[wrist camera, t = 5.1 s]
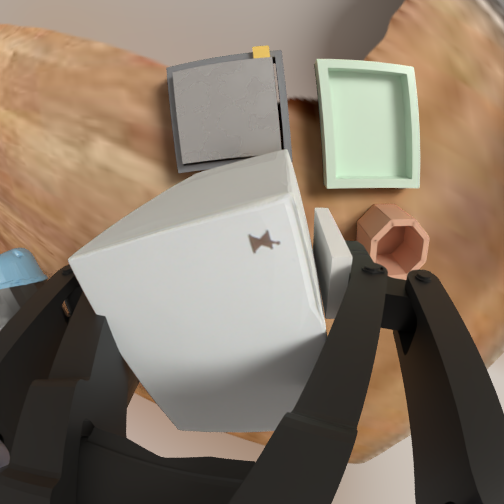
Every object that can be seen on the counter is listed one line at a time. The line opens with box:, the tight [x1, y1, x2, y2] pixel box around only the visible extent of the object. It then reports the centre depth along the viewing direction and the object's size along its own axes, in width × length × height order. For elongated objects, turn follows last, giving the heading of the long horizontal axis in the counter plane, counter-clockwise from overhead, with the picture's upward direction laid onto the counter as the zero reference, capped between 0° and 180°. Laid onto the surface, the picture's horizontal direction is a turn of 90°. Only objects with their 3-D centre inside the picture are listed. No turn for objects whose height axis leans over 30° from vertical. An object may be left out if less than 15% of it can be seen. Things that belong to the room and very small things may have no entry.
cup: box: [356, 204, 429, 280], centre depth 30 cm, size 7×7×6 cm
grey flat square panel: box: [173, 57, 281, 164], centre depth 25 cm, size 10×10×1 cm
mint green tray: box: [314, 59, 420, 189], centre depth 26 cm, size 11×14×2 cm
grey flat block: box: [167, 46, 292, 173], centre depth 27 cm, size 12×12×4 cm
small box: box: [68, 149, 327, 432], centre depth 13 cm, size 8×6×13 cm
